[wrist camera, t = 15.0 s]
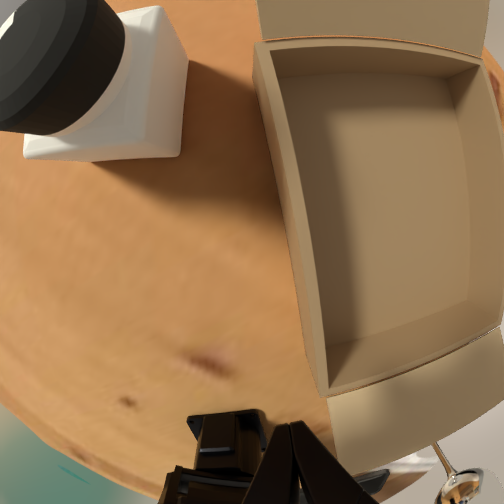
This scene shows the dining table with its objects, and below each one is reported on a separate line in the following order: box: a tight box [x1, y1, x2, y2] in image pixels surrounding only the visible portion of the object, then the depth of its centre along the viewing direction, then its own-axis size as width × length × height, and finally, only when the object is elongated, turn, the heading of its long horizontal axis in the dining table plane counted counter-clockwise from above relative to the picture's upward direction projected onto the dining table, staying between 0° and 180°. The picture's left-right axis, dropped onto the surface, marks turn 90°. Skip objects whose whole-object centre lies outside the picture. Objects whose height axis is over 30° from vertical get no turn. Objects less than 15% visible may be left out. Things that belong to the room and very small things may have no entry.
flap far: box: [326, 327, 504, 476], centre depth 14 cm, size 6×15×1 cm
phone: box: [300, 469, 390, 504], centre depth 27 cm, size 8×1×15 cm
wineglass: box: [431, 442, 504, 504], centre depth 14 cm, size 8×8×20 cm
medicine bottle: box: [0, 0, 189, 162], centre depth 10 cm, size 7×7×12 cm
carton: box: [252, 37, 504, 398], centre depth 15 cm, size 20×16×5 cm
